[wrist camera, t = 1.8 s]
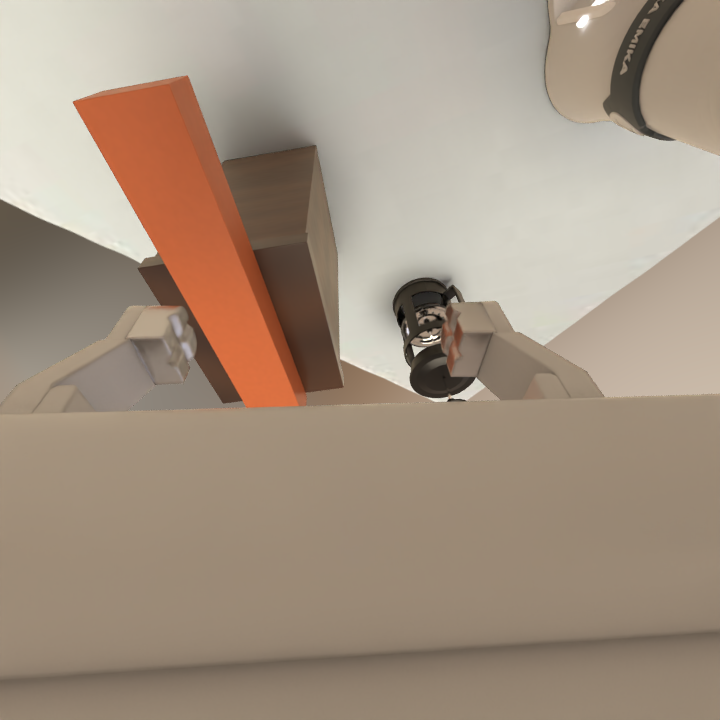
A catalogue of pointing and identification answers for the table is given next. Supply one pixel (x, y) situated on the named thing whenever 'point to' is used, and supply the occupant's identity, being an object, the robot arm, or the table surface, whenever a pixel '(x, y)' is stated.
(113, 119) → the orange rectangular bar
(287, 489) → the robot arm
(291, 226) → the cabinet
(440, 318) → the french press
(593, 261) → the table surface
